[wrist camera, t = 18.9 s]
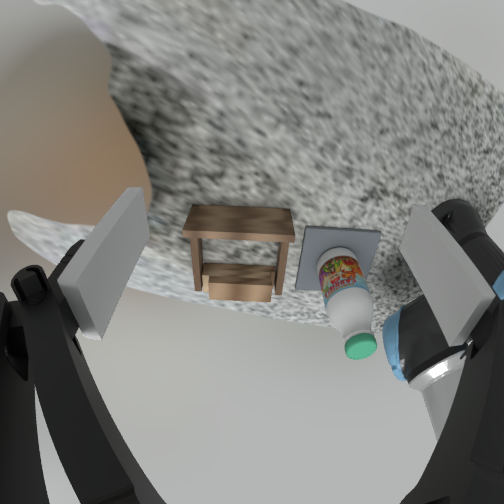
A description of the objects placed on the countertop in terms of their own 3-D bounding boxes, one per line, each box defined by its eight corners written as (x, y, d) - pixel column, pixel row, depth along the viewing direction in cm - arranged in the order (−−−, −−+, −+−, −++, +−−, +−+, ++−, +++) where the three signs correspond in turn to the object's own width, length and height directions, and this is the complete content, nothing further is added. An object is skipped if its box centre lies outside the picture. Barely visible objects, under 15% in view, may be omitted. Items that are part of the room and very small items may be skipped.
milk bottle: (364, 259, 54) (397, 345, 37) (335, 284, 57) (357, 371, 41) (337, 238, 51) (367, 327, 35) (307, 266, 55) (323, 357, 39)
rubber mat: (380, 231, 51) (381, 233, 50) (361, 288, 59) (361, 291, 58) (305, 225, 51) (306, 228, 50) (295, 287, 59) (295, 289, 58)
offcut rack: (290, 209, 49) (295, 235, 42) (280, 282, 58) (282, 313, 52) (192, 204, 49) (182, 230, 42) (198, 278, 58) (191, 308, 52)
